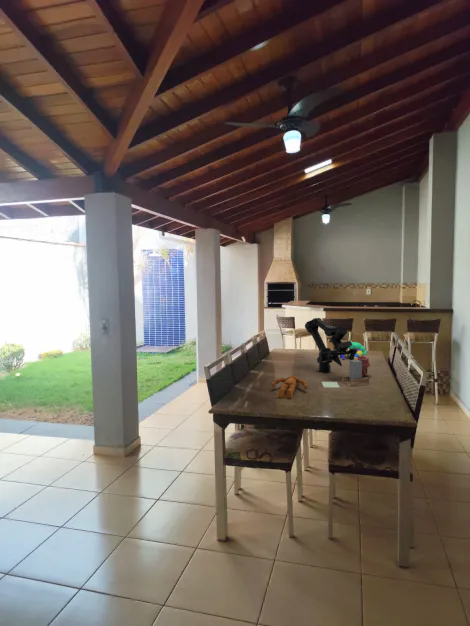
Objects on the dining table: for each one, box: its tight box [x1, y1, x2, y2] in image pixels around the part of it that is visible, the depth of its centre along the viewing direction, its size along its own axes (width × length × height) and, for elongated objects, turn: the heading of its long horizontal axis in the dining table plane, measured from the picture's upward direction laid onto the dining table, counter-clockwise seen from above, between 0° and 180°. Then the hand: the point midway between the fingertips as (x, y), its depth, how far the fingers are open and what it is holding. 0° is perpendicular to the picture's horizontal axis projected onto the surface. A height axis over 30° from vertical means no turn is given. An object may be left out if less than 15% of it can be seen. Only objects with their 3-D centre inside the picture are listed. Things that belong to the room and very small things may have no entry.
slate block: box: [348, 357, 363, 382], centre depth 243 cm, size 5×5×15 cm
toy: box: [271, 375, 308, 400], centre depth 231 cm, size 20×7×30 cm
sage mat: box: [321, 381, 340, 388], centre depth 242 cm, size 12×9×1 cm
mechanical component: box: [356, 355, 371, 378], centre depth 262 cm, size 12×10×10 cm
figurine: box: [339, 341, 368, 360], centre depth 316 cm, size 18×14×20 cm
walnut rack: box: [341, 375, 370, 388], centre depth 244 cm, size 9×12×4 cm
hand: (347, 365), depth 250 cm, fingers open, 9 cm apart
